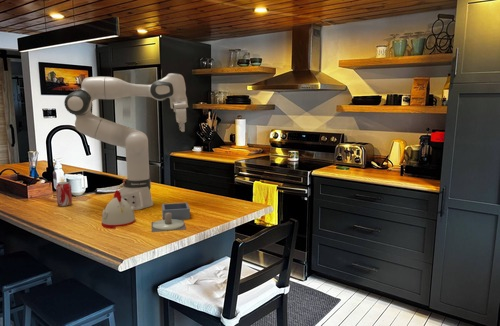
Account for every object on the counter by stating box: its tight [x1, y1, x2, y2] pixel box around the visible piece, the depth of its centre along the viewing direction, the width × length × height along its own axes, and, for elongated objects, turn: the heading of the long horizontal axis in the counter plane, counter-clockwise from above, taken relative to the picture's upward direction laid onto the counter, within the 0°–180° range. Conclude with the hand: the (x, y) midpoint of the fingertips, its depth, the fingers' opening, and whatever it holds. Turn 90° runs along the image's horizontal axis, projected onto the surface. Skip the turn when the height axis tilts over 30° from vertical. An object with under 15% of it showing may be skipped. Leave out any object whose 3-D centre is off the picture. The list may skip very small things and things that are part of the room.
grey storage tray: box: [161, 202, 191, 220], centre depth 175 cm, size 12×12×6 cm
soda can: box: [55, 181, 73, 207], centre depth 197 cm, size 7×7×12 cm
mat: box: [150, 219, 187, 233], centre depth 161 cm, size 14×14×1 cm
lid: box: [153, 213, 185, 231], centre depth 160 cm, size 13×13×5 cm
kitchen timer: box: [101, 189, 136, 230], centre depth 165 cm, size 14×14×15 cm
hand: (182, 131), depth 198 cm, fingers open, 8 cm apart
